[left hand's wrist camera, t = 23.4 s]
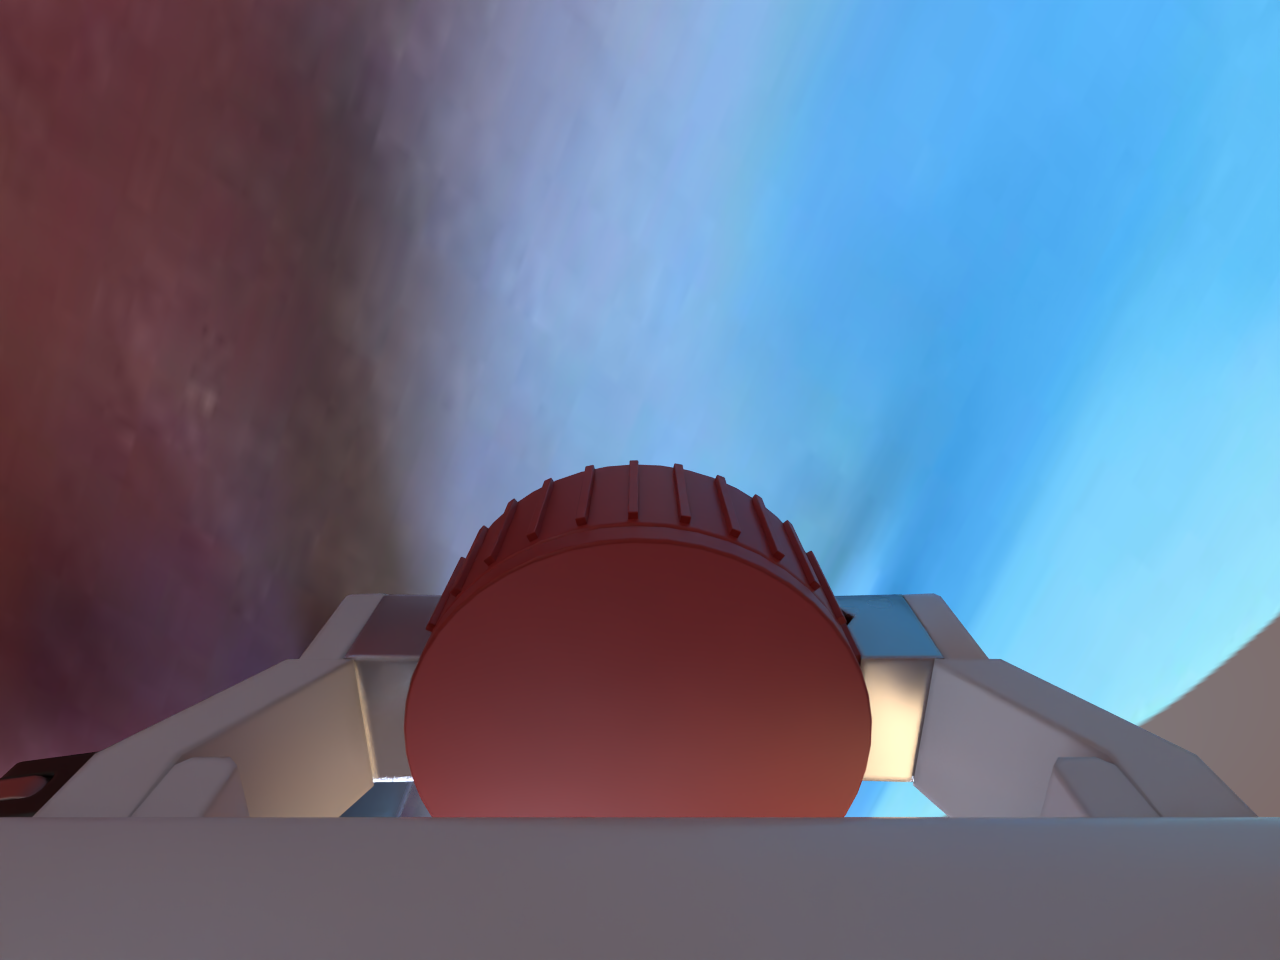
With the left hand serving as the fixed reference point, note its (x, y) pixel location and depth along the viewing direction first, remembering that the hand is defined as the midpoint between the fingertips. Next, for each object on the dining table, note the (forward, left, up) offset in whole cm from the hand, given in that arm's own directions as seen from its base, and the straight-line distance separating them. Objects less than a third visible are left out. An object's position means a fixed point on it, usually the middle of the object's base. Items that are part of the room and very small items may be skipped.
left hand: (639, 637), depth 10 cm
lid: (0, 0, +2) cm, 2 cm away
